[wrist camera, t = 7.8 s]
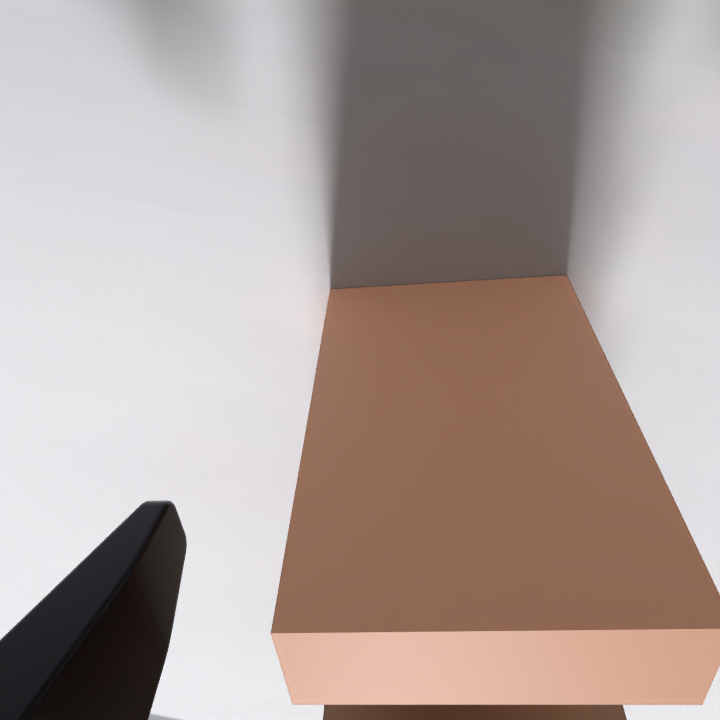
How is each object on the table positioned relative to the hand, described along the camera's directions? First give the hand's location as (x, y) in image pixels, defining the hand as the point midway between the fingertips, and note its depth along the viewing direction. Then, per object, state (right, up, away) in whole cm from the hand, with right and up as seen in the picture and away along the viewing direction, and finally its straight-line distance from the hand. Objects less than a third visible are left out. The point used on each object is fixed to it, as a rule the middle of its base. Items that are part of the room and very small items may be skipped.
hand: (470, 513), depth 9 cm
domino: (0, +3, +5) cm, 6 cm away
